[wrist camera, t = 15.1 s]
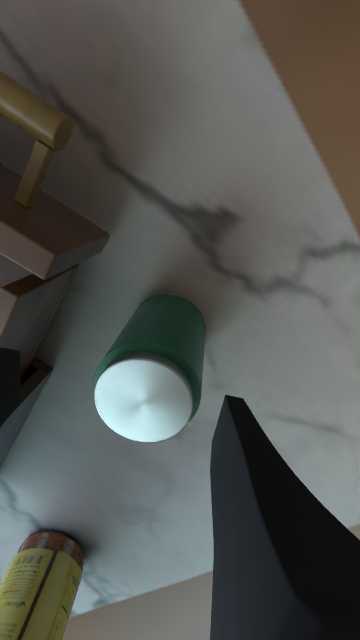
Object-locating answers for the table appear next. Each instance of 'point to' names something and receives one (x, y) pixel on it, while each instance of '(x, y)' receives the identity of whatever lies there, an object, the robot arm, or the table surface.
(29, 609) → the sauce bottle
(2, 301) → the drawer
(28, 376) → the cabinet
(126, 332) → the can
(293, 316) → the table surface
